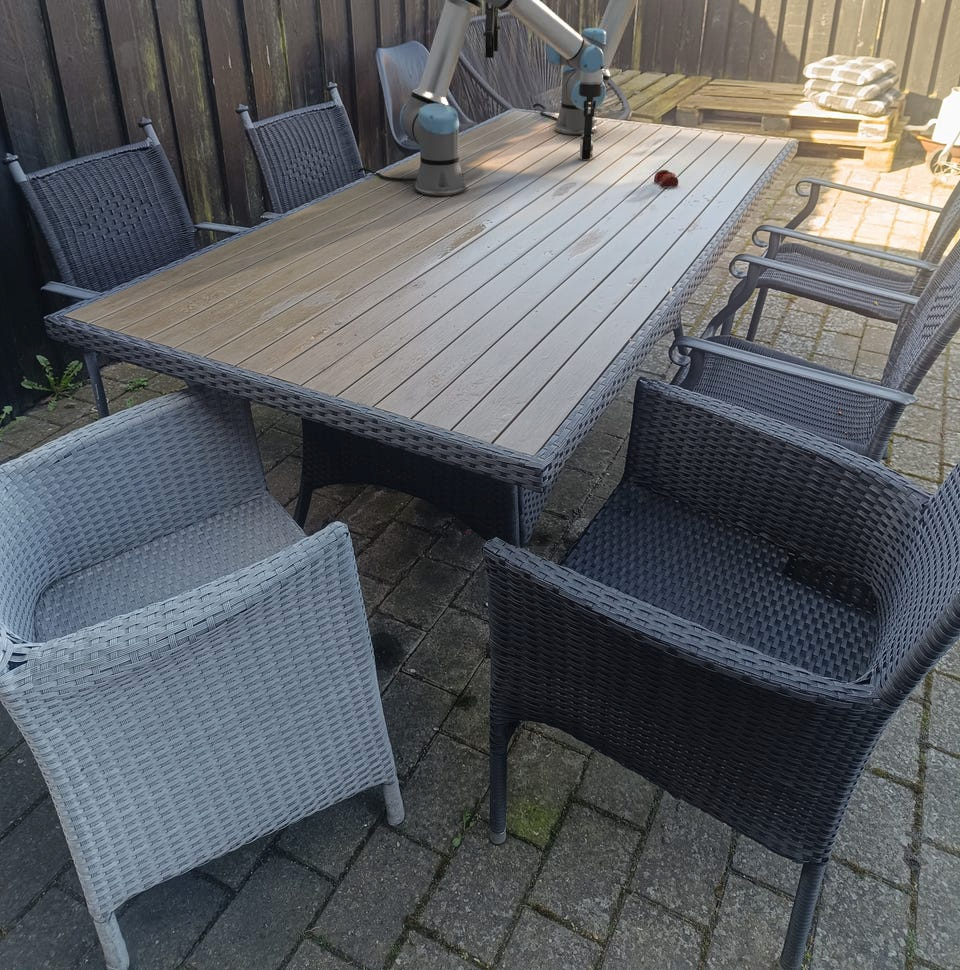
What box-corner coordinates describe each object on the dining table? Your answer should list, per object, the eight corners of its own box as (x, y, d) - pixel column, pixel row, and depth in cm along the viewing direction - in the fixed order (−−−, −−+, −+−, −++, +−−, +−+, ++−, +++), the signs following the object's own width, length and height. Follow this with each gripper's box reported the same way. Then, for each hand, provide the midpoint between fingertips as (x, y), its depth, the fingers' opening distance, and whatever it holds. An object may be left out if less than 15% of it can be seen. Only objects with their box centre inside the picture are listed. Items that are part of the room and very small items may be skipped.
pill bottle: (592, 160, 286) (594, 136, 281) (579, 160, 286) (581, 136, 281) (591, 156, 289) (593, 133, 285) (579, 156, 289) (580, 133, 285)
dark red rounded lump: (669, 166, 264) (680, 173, 258) (668, 179, 266) (679, 187, 260) (653, 168, 263) (663, 175, 257) (652, 181, 265) (662, 189, 259)
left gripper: (602, 88, 266) (596, 164, 280) (602, 77, 280) (597, 150, 294) (578, 87, 267) (574, 163, 281) (580, 77, 281) (575, 150, 295)
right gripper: (499, -14, 266) (498, 60, 279) (507, -21, 286) (506, 48, 299) (476, -14, 267) (476, 60, 279) (485, -21, 287) (485, 48, 300)
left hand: (585, 156), depth 287 cm, fingers closed on pill bottle, 4 cm apart
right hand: (491, 54), depth 289 cm, fingers open, 13 cm apart
